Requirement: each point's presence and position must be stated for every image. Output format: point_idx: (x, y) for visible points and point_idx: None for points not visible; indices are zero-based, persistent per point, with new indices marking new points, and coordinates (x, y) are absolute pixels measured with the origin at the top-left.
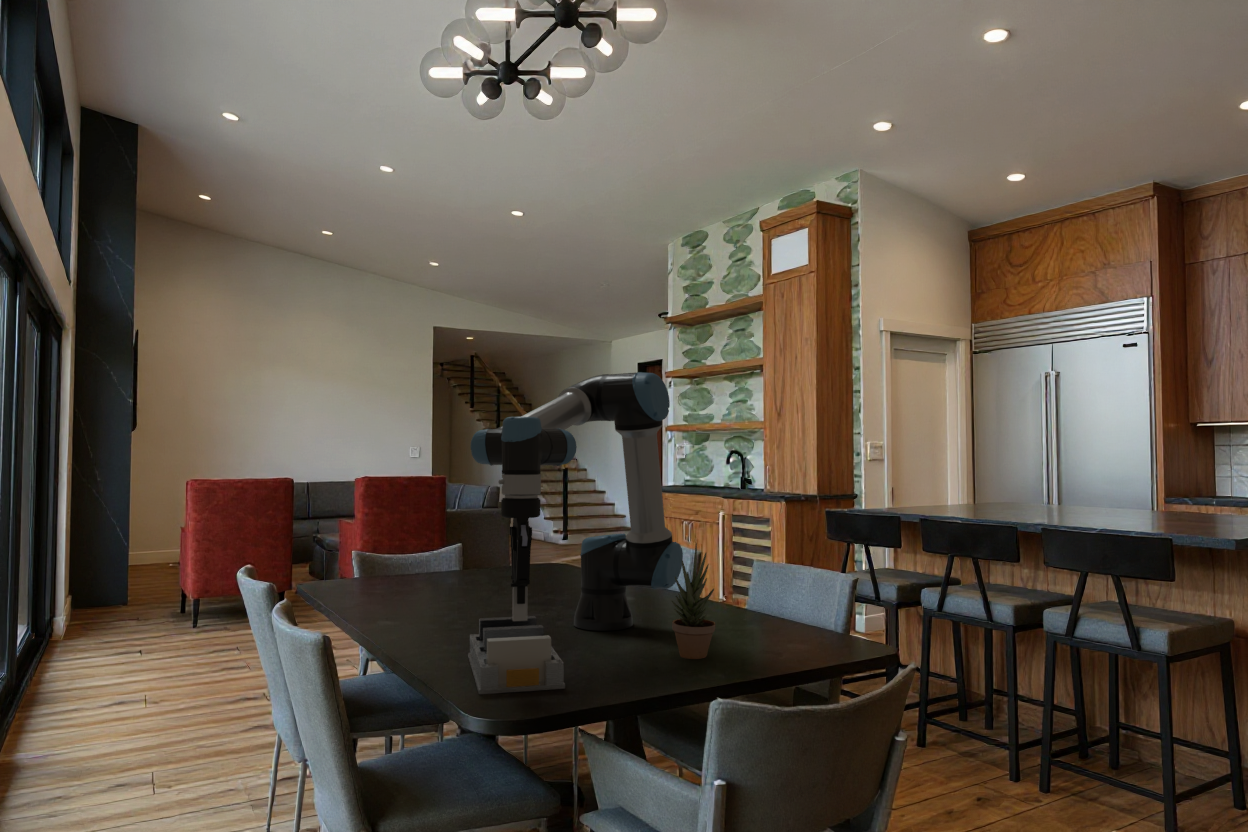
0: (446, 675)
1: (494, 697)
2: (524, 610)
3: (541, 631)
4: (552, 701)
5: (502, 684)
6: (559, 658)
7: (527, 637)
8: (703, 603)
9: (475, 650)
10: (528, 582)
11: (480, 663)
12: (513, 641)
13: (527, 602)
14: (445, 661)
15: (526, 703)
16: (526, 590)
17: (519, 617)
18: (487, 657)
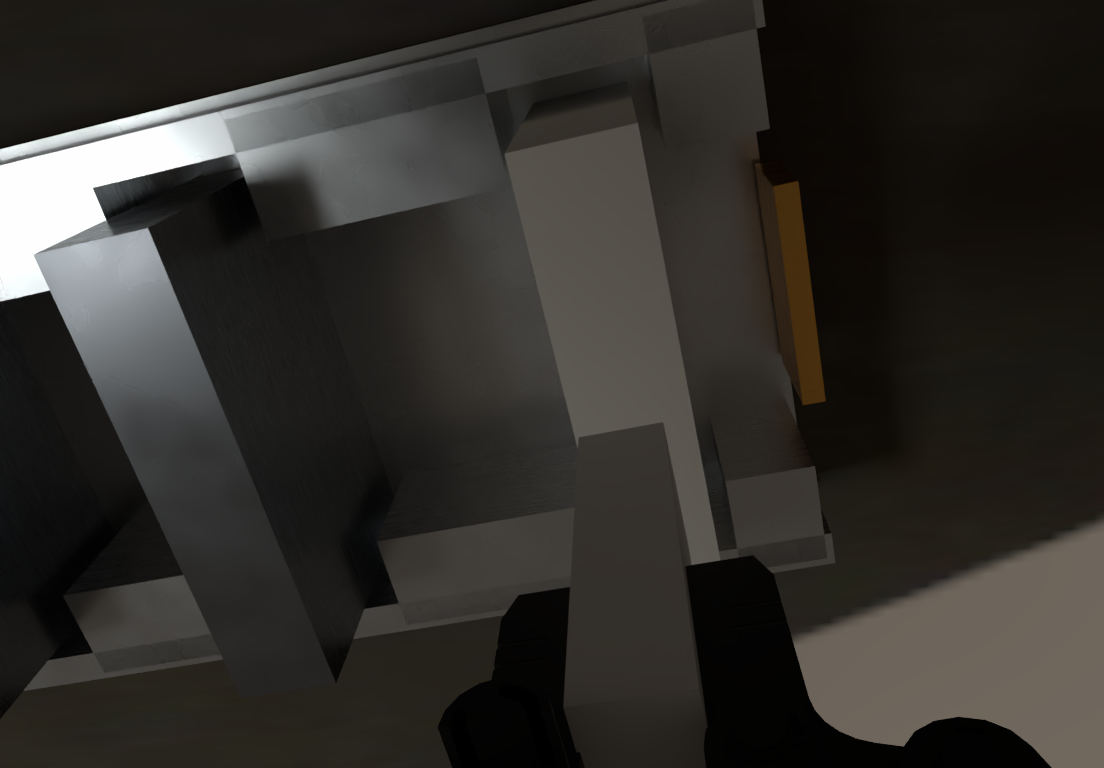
0: (418, 671)
1: (869, 401)
2: (677, 508)
3: (173, 240)
4: (1024, 42)
5: (703, 386)
6: (604, 24)
7: (595, 350)
8: None
9: (368, 634)
10: (1032, 755)
11: None
12: (698, 450)
13: (678, 531)
14: (138, 707)
15: (1031, 210)
16: (692, 654)
17: (681, 515)
18: None
